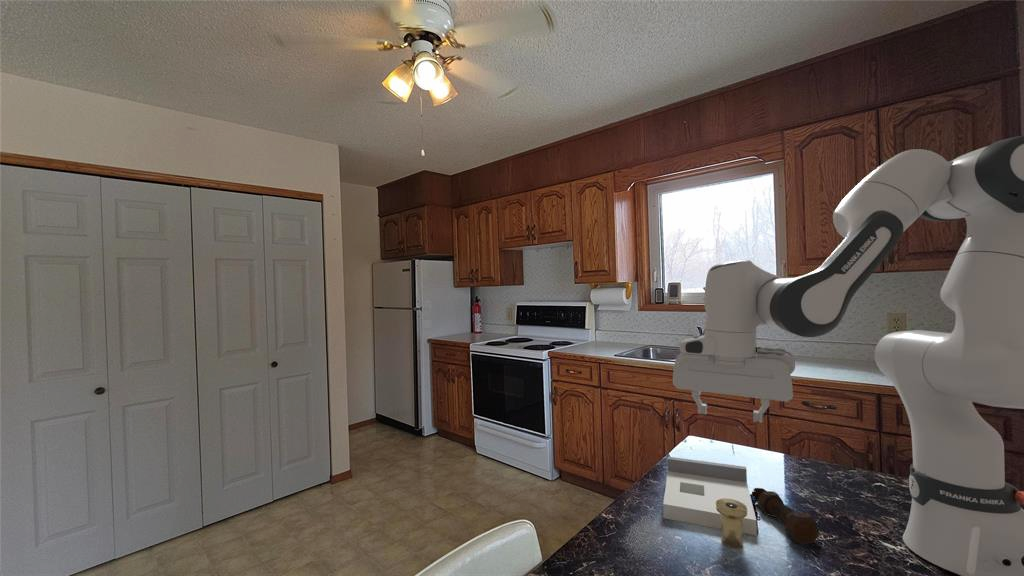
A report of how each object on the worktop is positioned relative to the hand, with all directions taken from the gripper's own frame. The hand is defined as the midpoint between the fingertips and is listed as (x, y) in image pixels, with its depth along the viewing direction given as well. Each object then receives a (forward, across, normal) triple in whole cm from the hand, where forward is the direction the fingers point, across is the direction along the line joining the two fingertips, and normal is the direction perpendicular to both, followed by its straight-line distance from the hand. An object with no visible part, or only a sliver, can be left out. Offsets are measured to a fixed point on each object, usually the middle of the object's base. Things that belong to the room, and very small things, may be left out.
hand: (729, 417), depth 80 cm
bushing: (+23, -1, +1) cm, 23 cm away
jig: (+23, +5, -11) cm, 26 cm away
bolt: (+23, -9, -12) cm, 27 cm away
